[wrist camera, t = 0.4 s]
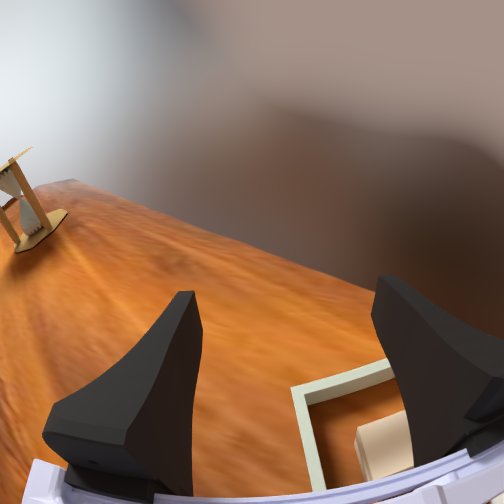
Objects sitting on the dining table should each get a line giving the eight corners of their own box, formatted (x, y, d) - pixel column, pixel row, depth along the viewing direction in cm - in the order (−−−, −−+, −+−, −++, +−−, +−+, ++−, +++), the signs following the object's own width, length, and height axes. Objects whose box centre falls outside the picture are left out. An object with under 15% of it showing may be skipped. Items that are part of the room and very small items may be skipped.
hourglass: (6, 252, 78) (-31, 192, 63) (46, 211, 93) (16, 154, 78) (31, 256, 69) (-15, 181, 53) (79, 207, 84) (43, 137, 68)
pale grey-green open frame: (474, 503, 13) (487, 500, 11) (329, 560, 14) (328, 565, 12) (417, 359, 27) (423, 343, 25) (294, 399, 27) (290, 387, 26)
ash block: (414, 469, 18) (432, 456, 15) (365, 487, 19) (373, 480, 15) (400, 427, 22) (413, 406, 18) (354, 444, 22) (357, 427, 19)
